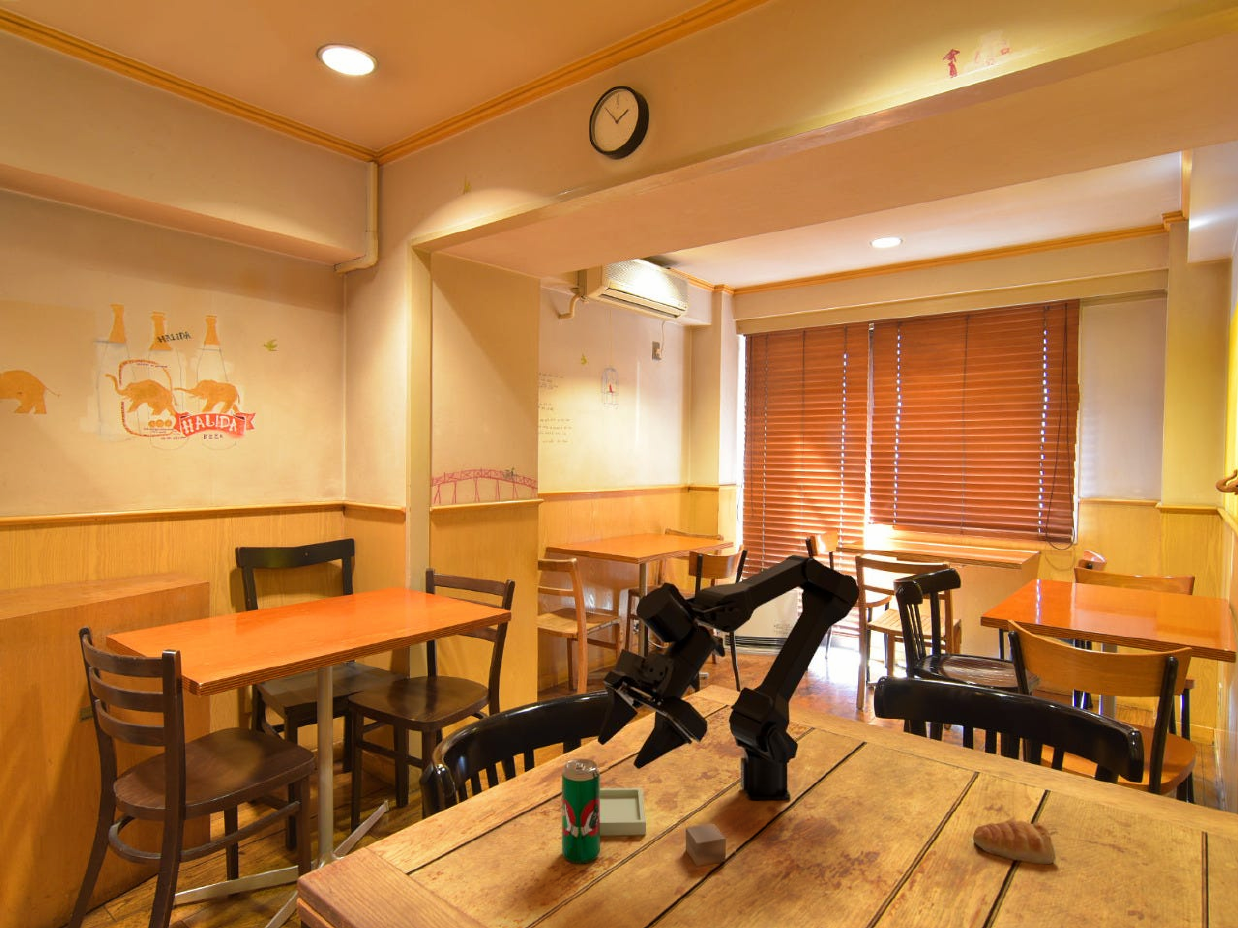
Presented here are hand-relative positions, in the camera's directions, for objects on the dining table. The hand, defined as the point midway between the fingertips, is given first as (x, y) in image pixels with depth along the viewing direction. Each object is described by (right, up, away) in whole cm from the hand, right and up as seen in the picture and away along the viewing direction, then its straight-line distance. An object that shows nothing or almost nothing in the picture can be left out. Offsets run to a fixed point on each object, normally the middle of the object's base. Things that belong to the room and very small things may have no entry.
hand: (617, 754), depth 97 cm
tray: (-1, -12, +7) cm, 14 cm away
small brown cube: (+12, -12, -3) cm, 17 cm away
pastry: (+54, -12, -2) cm, 55 cm away
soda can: (-5, -12, -3) cm, 14 cm away
